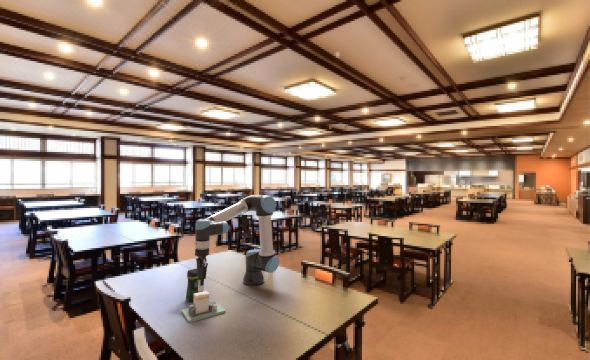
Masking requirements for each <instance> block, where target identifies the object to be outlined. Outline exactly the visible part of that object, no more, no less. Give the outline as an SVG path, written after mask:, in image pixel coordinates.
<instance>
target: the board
mask: <svg viewBox="0 0 590 360" xmlns="http://www.w3.org/2000/svg"><path fill="white" fill-rule="evenodd" d="M209 302H210V301H209ZM210 303H211V304H212V305H213V312H209V313H206V314H202V315H198V316H195V317H192V316H191V315H190V313H189V307H187V308H183V309H181V314H182V315H183V316H184V318H185V320H186V322H187V324H189V323H194V322H196V321H200V320H203V319H207V318H210V317H215V316H218V315H221V314H225V313H226V311H227V310H226V309H225V308H224V307H223V306H222V305H221V304H220V303H219V302H218V301H217V300H216V301H211V302H210Z"/></svg>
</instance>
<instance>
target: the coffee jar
mask: <svg viewBox="0 0 590 360" xmlns="http://www.w3.org/2000/svg"><path fill="white" fill-rule="evenodd" d="M186 278H187V288H186V295H185V299H186V300H187V301H188V302H194V298H193V297H194V293H199V291H198V276H197V267H195V268H193V269H188V270H187V272H186ZM200 292H203V291H200Z"/></svg>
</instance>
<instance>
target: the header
mask: <svg viewBox="0 0 590 360" xmlns="http://www.w3.org/2000/svg"><path fill="white" fill-rule="evenodd" d="M188 308H189V313H190V315H191V316H192V317H195V316H198V315H202V314H206V313H209V312H213V305H212V304H211V303H210V301H209V311H206V312H202V313H199V314H195V310H194V308H193V304H190V305H188Z"/></svg>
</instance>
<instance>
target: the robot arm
mask: <svg viewBox="0 0 590 360" xmlns="http://www.w3.org/2000/svg"><path fill="white" fill-rule="evenodd" d="M276 207H277V202H276V200H275V198H274V197H273V196H271V195H267V194H252V195H249V196H246V197H244V198H242V199H240V200H238V202H236V203H235V204H233V205H230V206H229V207H226V208H224V209H222V210H220V211H218V212H216V213H215V214H212V215H210V216H209V217H208V216H207V217H206V218H199V219H197V220H196V221H195V242H194V243H193V244H194V245H195V248H194V256H196V257H197V258H196V259H195V260H196V268H197V276H198V291H199V292H200V291H205V280H206V278H207V273H208V272H207V271H208V265H209V263H208V262H207V256H209V255H210V245H211V244H210V242H211V241H210V240H211V239H210V238H211V237H212V236H219V235H225V234H227V233H228V231H229V224H228V222H227V221H229V220H232V219H234V218H235V217H237V216H239V215H241V214H242V213H245V214H246V213H247V212H255V215H256V217H258V230H259V243H260V249H257V248H256V249H255V248H254V249H250V250H247V251H246V253H245V254H246V255H245V272H244V276H243V278H242V284H244V285H246V284H247V286H257V285H256V284H259V285H261V284H260V283H262V282H263V281H264V282H265V278H264V274H263V272H266V273H270V274H273V273H275V272H276V271H277V270H278V268H279V265H280V258H279V257H278V256H277V255H276V250H274V244H273V227H272V216H273V214H274V212H275V211H276V209H277V208H276ZM264 282H263V283H264ZM263 283H262V284H263Z"/></svg>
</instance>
